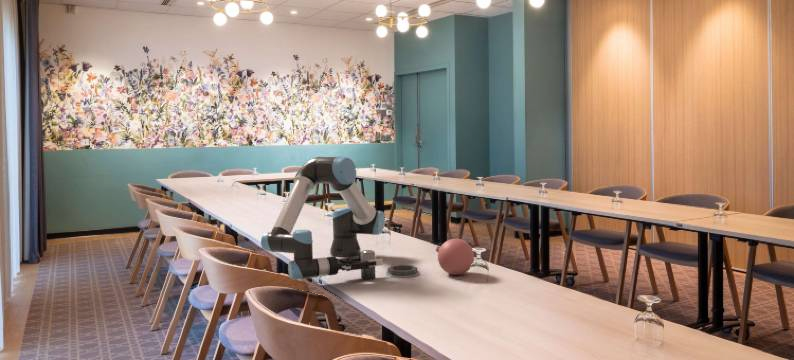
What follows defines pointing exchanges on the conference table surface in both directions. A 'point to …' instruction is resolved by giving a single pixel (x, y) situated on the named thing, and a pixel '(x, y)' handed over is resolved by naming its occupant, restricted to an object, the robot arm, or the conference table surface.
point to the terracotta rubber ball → (455, 256)
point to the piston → (369, 273)
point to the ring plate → (402, 271)
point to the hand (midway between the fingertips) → (379, 260)
